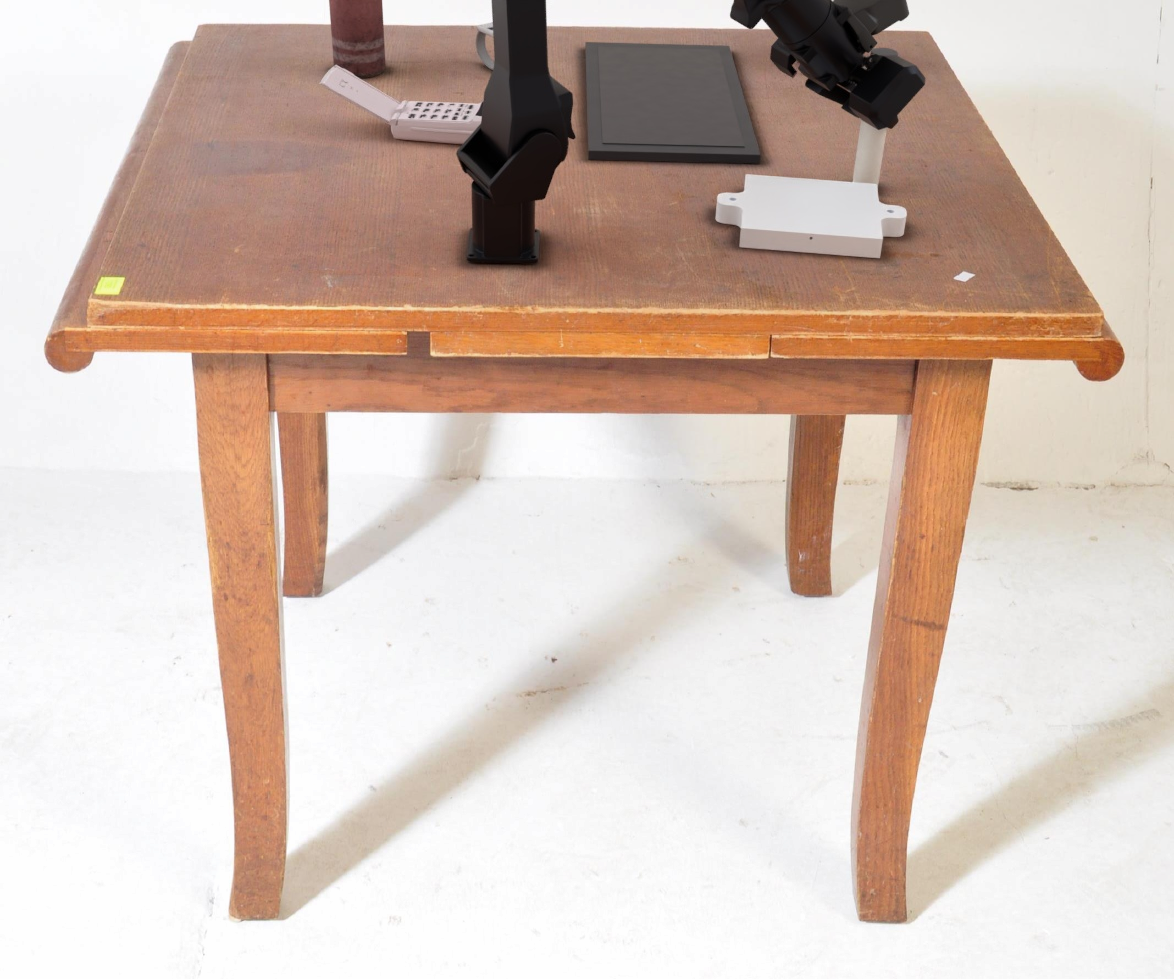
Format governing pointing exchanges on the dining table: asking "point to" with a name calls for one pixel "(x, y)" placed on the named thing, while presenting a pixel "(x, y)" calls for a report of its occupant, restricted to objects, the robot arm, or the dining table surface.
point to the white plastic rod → (870, 144)
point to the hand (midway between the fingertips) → (886, 120)
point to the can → (358, 36)
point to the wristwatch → (480, 43)
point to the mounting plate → (811, 216)
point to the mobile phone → (407, 111)
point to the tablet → (666, 104)
